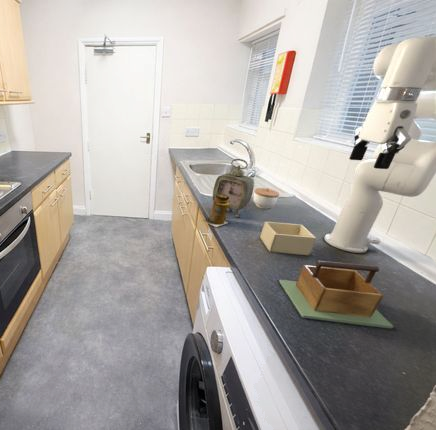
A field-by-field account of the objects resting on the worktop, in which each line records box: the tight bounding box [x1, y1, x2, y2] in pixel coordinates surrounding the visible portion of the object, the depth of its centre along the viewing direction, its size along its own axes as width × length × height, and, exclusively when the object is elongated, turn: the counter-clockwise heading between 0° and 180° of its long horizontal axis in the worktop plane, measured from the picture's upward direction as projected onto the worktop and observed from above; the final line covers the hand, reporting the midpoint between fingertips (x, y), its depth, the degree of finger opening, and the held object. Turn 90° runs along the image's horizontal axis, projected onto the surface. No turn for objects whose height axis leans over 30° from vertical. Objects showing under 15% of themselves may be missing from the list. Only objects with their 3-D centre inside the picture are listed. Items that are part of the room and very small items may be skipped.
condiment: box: [202, 194, 229, 228], centre depth 111 cm, size 7×8×12 cm
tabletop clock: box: [212, 158, 255, 218], centre depth 118 cm, size 14×9×25 cm, turn 44°
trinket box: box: [252, 187, 280, 210], centre depth 129 cm, size 11×11×9 cm
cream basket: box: [259, 221, 317, 256], centre depth 95 cm, size 13×10×7 cm
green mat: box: [278, 279, 394, 329], centre depth 70 cm, size 20×14×1 cm
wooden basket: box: [296, 260, 385, 318], centre depth 68 cm, size 13×10×12 cm
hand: (367, 163), depth 73 cm, fingers open, 9 cm apart
